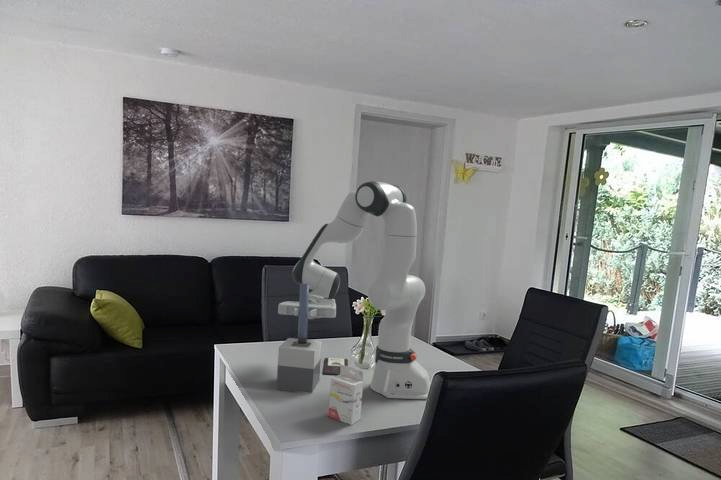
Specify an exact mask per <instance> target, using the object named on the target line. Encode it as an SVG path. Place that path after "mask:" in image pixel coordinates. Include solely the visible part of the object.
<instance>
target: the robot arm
mask: <svg viewBox="0 0 721 480" xmlns="http://www.w3.org/2000/svg"><path fill="white" fill-rule="evenodd" d="M371 215H373V216H375V217H378V218H379V217H381V218H382V219H383V221H384V232H383V234H384V235H383V236H384V237H383V248H382V250H383V251H382V257H381V263H380V265H379V268H378V271H377V274H376V277H375V279H374V280H373V281H372V283H371V284H370V285H369V287H368V290H367V299H368V301H369V303H370V306H372V307H373V308H374V309H376V310H381V311H386V313H385V315H384V317H383V318H382V319H381V320H380V322H379V324H378V334H377V335H378V336H377V345H376V347H375V353H374V354H375V355H374V362H375V365H374V371H373V375H372V379H371V381H370V383H369V388H370V390H372V391H374V392H376V393H378V394H380V395H382V396H384V397H385V398H387V399H404V400H405V399H406V400H407V399H410V400H428V399H427V394H428V391H429V387H430V383H431V382H430V377H429V376H430V375H429V373H428V371H427V370H426V369H425V367H423V366H422V365H421V364H420V363H419V362H418V361H416V360H417V354H416V352H415V350H414V349H412V348H411V338H412V328H413V323H414V319H415V317H416V314H417V311H418V308H419V306H420V303H421V302H422V300H423V299H424V298H425V295H426V286H425V282H424V281H423V280H422V279H421V278H420V277H418V276H416V275H413V274H412V275H411V274H409V271H410V269H411V267H412V265H413V264H414V262H415V261H416V258H417V257H416V255H417V242H418V241H417V239H418V223H417V214H416V209H415V207H414V206H412V205H411V204H410V203H407V195H406V193H405V191H404V190H403V189H402V188H401V187H399V186H397V185H395V184H389V183H387V182H384V181H383V182H382V181H373V180H371V181H366V182H363V183H362V184H360V185H359V186H357V189H356V190H352V191H350V192H349V193H348V194H347V195H346V197H345V198H344V200H343V202H342V204H341V205H340V207H339V209H338V211H337V213H336V216H335V217H334V219H333V220H332V221H331V222H329V223H324V224H323V225H322V226H321V227H320V229H319V230H318V232H317V233H316V234H315V236H314V237H313V239H312V240H311V242H310V243H309V246H307V248H306V250H305V252H304V253H303V255H302V256H301V257H300V259H299V260H298V262H297V263H296V264H295V265H294V267H293V269H292V271H291V276H292V280H293V281H294V283H295V284H297V285H299V286H300V284H301V283H307V284H309V290H312V291H309V300H308V311H307V317H308V320H314V319H321V318H326V319H327V318H328V319H329V318H330V319H334V318H336V316H337V304H336V299H335V298H336V297H337V294H338V292H339V290H340V289H341V282H342V281H341V278H340V274H339V273H338V272H336V271H334V270H332V269H330V268H327V267H325V266H322V265H320V264H319V263H317V262H315V257H316V256H317V255H318V253H319V251H320V249H321V248H322V246H324V244H328V243H329V244H330V243H337V244H349V243H352V242H356V240H358V239H359V238H360V236H361V235H362V234H363V232H364V229H365V227H366V225H367V223H368V220H369V218H370V217H371ZM277 307H278V308H277V313H278V314H279V315H285V316H287V315H288V316H295V317H299V301H294V300H293V301H289V300H287V301H283V302H279V304H278V306H277Z"/></svg>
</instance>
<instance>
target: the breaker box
mask: <svg viewBox="0 0 721 480" xmlns="http://www.w3.org/2000/svg"><path fill="white" fill-rule="evenodd" d="M322 344H323V341H322V340H313V339H307V343H306V344H299V343H298V338H293V337H288V338H287V339H285V341H284V342H283V343H282V344H280V345H279V346H278V355H277V356H278V358H277V370H276V371H277V375H276V389H275V390H280V391H281V390H283V391H291V392H300V393H307V394H308V393H310V394H313V392H314V391H315V389H316V387H317V385H318V384H319V381H320V380H321V379H320V377H321V376H320V375H321V365H322V363H321V362H322V361H321V360H322V359H321V358H322Z"/></svg>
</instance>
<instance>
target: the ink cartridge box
mask: <svg viewBox="0 0 721 480" xmlns="http://www.w3.org/2000/svg"><path fill="white" fill-rule="evenodd" d="M351 371H352V372H353V373H351ZM363 377H364V372H363V370H361V369H359V368H355V367H351V366H349V365H348V366H345V365H340V374H339V375H334V376H332V377H331V378H330V387H329V388H330V389H329V400H328V413H327V414H328V416H327V417H329V418H332V419H334V420H337V421H340V422H343V423H345V424H347V423H348V425H351V426H352V425H354V424H355V423H357V422H359V421H360V420H361V414H362V401H363V400H362V399H363V387H364V386H363V385H364V381H363Z"/></svg>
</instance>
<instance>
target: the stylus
mask: <svg viewBox="0 0 721 480" xmlns="http://www.w3.org/2000/svg"><path fill="white" fill-rule="evenodd" d="M309 290H310V288H309V284H307V283H301V284H300V285H299V300H298V302H299V316H298V328H297V339H298V343H299V344H306V343H307V340H308V323H309V321H308V320H309V319H308V317H307V311H308V300H309V293H310V291H309Z"/></svg>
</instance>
